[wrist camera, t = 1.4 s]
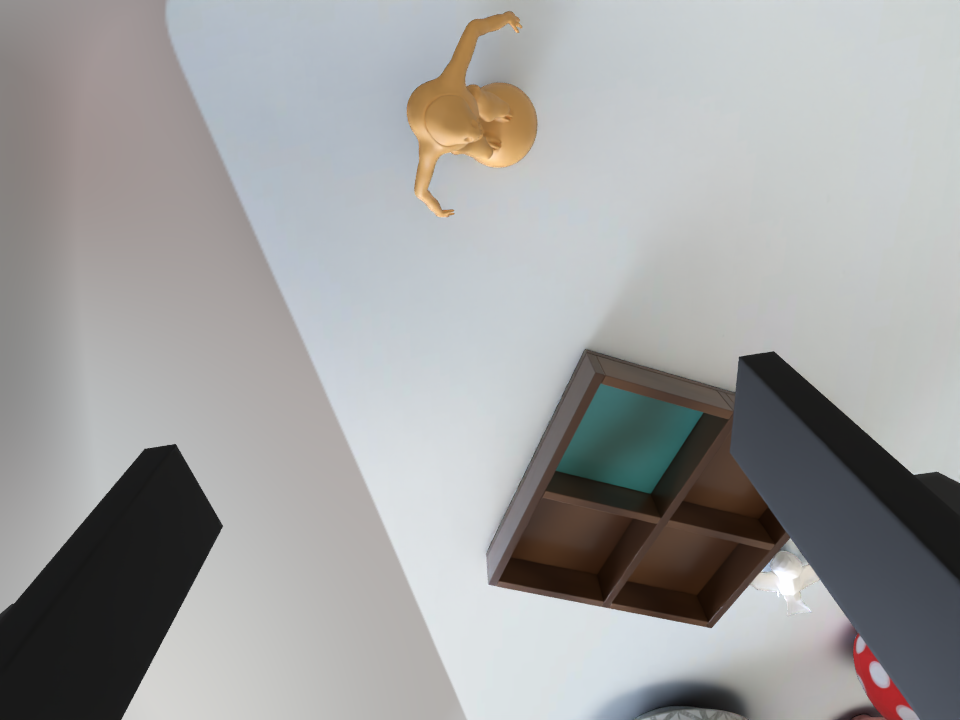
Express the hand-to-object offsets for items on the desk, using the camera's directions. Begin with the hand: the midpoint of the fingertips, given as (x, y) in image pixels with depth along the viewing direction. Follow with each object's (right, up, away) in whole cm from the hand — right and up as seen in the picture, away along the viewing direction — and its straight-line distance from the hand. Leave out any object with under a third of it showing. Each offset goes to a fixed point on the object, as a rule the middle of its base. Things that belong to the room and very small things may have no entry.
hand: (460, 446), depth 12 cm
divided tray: (+14, -9, +30) cm, 34 cm away
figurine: (0, +15, +16) cm, 22 cm away
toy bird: (+27, -16, +34) cm, 47 cm away
